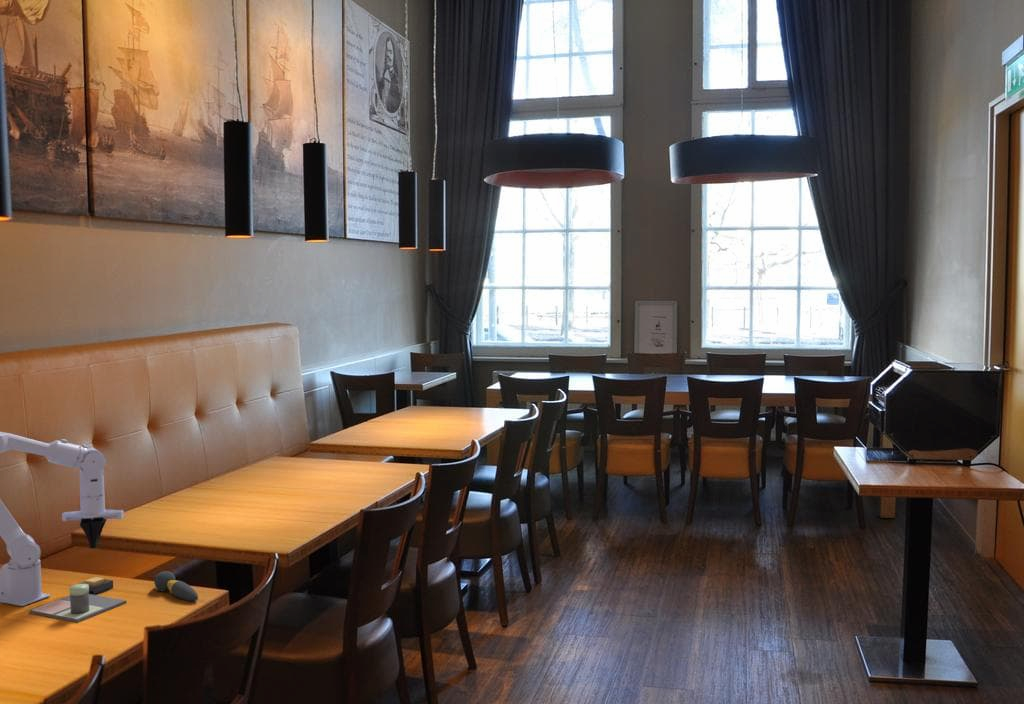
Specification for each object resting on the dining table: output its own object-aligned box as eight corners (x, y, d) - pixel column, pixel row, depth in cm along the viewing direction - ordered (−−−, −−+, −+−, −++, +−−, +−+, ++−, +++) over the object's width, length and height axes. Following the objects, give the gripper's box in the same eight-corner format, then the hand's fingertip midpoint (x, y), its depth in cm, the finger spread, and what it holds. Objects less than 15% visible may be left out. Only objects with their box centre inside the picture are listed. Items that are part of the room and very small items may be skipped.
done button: (85, 588, 227) (84, 580, 227) (95, 584, 230) (95, 576, 230) (94, 589, 226) (94, 582, 226) (104, 586, 229) (104, 578, 229)
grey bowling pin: (210, 599, 221) (209, 579, 221) (192, 605, 217) (192, 584, 217) (163, 584, 233) (162, 565, 232) (145, 590, 228) (145, 571, 228)
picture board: (29, 612, 212) (29, 609, 212) (79, 594, 225) (78, 591, 225) (77, 622, 206) (77, 619, 205) (126, 602, 218) (126, 599, 218)
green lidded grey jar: (66, 613, 210) (65, 588, 209) (81, 607, 213) (80, 582, 213) (79, 615, 208) (78, 590, 208) (93, 609, 212) (92, 584, 211)
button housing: (76, 592, 226) (76, 584, 226) (96, 585, 232) (95, 577, 232) (93, 595, 224) (93, 587, 224) (113, 587, 230) (112, 580, 229)
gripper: (56, 499, 224) (58, 552, 225) (116, 497, 226) (118, 550, 227) (67, 493, 231) (69, 544, 232) (125, 491, 233) (127, 542, 234)
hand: (94, 547), depth 230 cm, fingers closed
